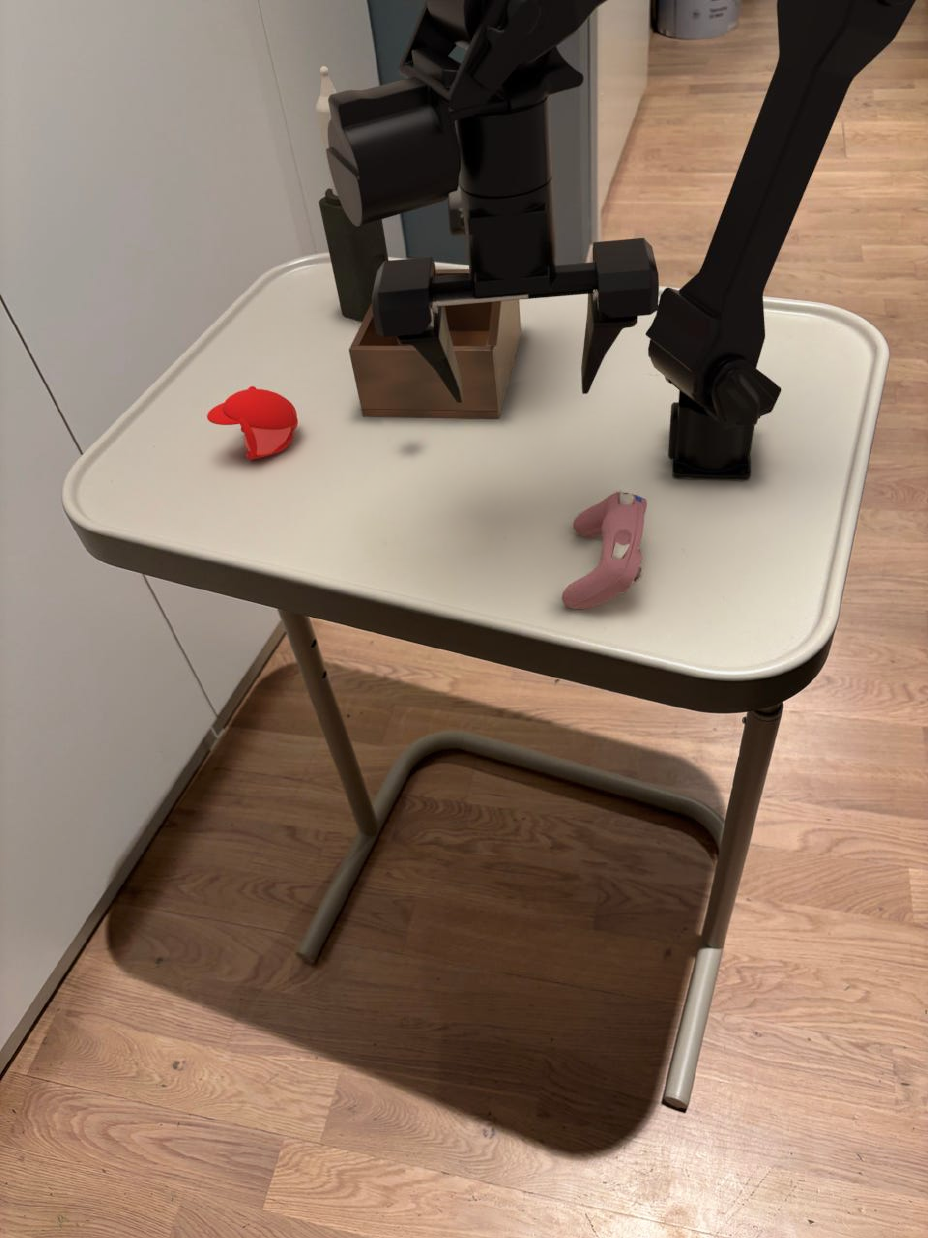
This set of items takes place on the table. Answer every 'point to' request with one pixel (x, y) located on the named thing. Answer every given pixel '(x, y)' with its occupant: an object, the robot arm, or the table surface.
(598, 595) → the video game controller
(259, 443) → the cap
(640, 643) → the table surface
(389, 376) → the chest
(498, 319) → the lid
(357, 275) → the candle
